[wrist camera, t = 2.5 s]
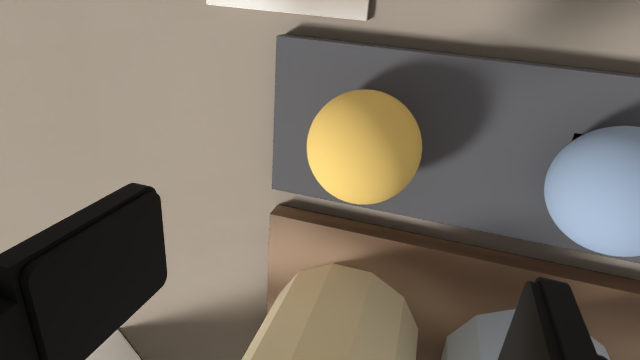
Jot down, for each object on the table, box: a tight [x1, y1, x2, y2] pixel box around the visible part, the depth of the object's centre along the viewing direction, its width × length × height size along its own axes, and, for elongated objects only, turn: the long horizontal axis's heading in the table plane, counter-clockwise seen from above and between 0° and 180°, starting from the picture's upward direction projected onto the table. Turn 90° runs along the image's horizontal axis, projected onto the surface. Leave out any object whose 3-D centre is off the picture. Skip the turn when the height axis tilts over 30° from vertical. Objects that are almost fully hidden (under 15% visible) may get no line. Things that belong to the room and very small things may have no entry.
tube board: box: [207, 0, 640, 360], centre depth 21 cm, size 30×24×1 cm
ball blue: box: [544, 126, 640, 257], centre depth 16 cm, size 5×5×5 cm
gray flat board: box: [272, 34, 640, 263], centre depth 19 cm, size 8×20×1 cm, turn 85°
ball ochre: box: [307, 89, 422, 205], centre depth 18 cm, size 5×5×5 cm
